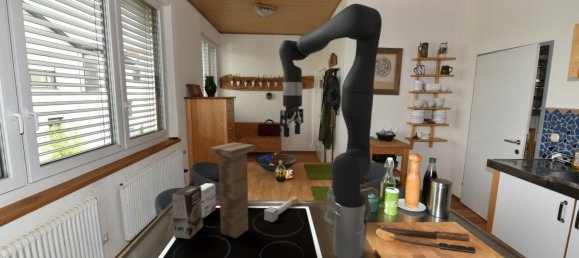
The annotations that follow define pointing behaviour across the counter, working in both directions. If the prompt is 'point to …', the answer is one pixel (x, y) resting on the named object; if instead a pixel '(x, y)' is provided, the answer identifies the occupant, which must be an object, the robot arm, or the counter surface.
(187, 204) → the coffee box
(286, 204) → the hammer
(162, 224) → the counter surface
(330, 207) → the tankard
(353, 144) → the robot arm
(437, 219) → the counter surface
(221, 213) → the stand
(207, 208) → the ink box
